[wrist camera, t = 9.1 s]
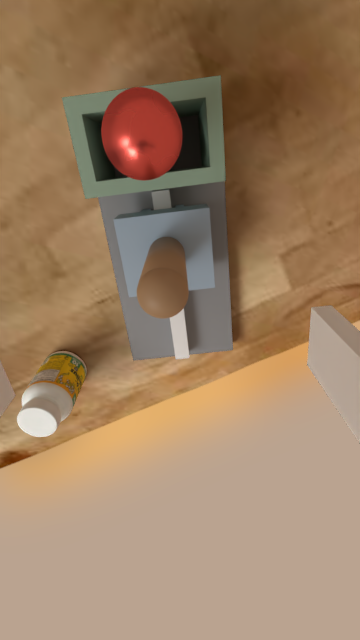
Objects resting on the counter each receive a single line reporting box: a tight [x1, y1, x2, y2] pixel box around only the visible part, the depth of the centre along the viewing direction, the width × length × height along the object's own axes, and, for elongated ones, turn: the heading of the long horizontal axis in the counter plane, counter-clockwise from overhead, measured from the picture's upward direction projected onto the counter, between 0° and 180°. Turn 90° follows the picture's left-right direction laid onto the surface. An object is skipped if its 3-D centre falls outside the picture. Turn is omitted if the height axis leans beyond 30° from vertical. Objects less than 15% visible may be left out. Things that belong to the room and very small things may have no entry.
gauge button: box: [101, 87, 182, 181], centre depth 21 cm, size 4×4×9 cm
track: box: [62, 75, 233, 360], centre depth 29 cm, size 12×25×10 cm, turn 7°
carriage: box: [113, 204, 215, 318], centre depth 25 cm, size 8×7×15 cm
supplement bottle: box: [17, 351, 87, 437], centre depth 36 cm, size 5×5×10 cm
